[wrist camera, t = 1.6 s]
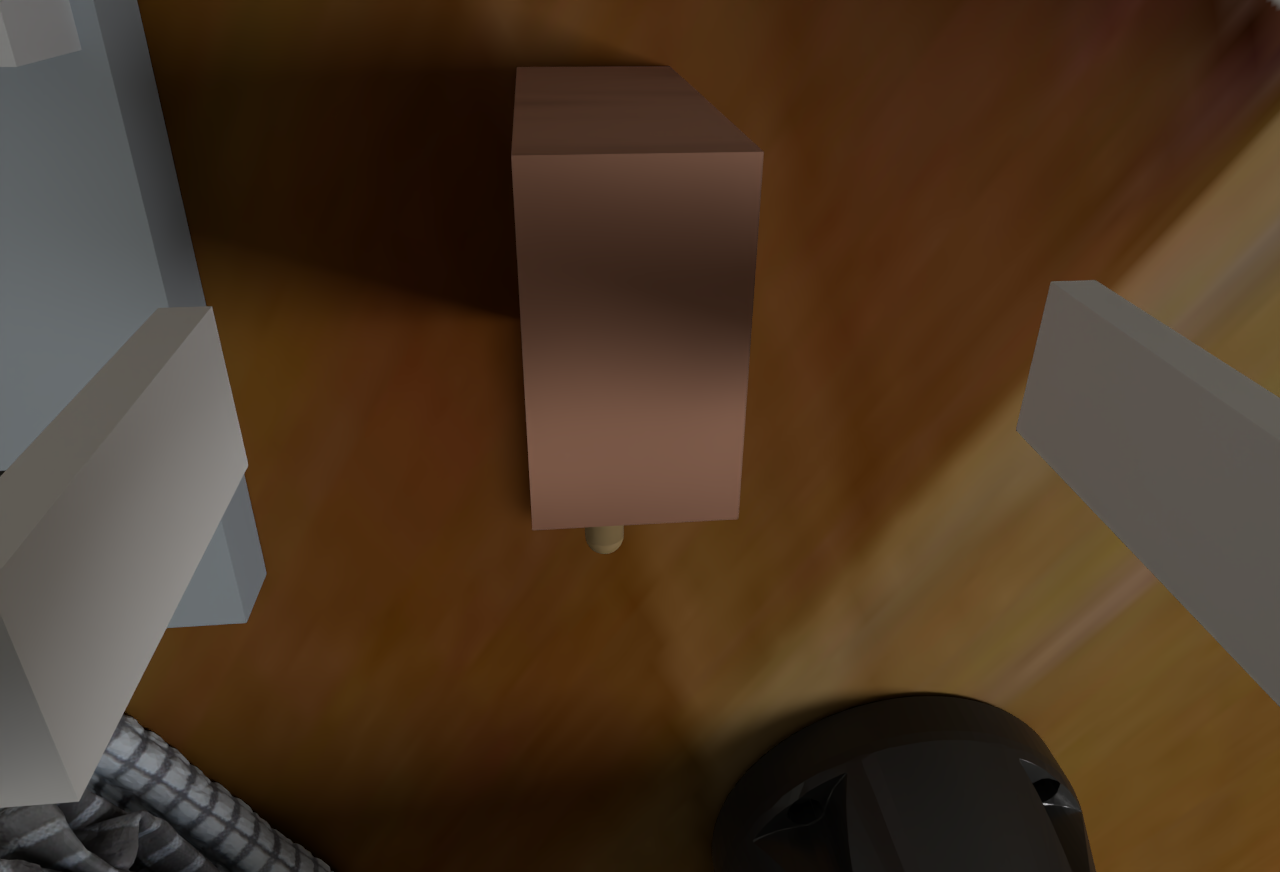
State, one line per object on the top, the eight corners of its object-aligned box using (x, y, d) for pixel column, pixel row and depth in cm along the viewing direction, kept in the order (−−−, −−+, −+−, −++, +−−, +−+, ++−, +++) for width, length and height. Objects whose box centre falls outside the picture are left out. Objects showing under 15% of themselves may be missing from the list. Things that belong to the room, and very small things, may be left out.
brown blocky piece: (660, 515, 31) (720, 776, 22) (539, 522, 31) (547, 790, 21) (670, 65, 24) (763, 151, 15) (516, 66, 24) (511, 155, 14)
